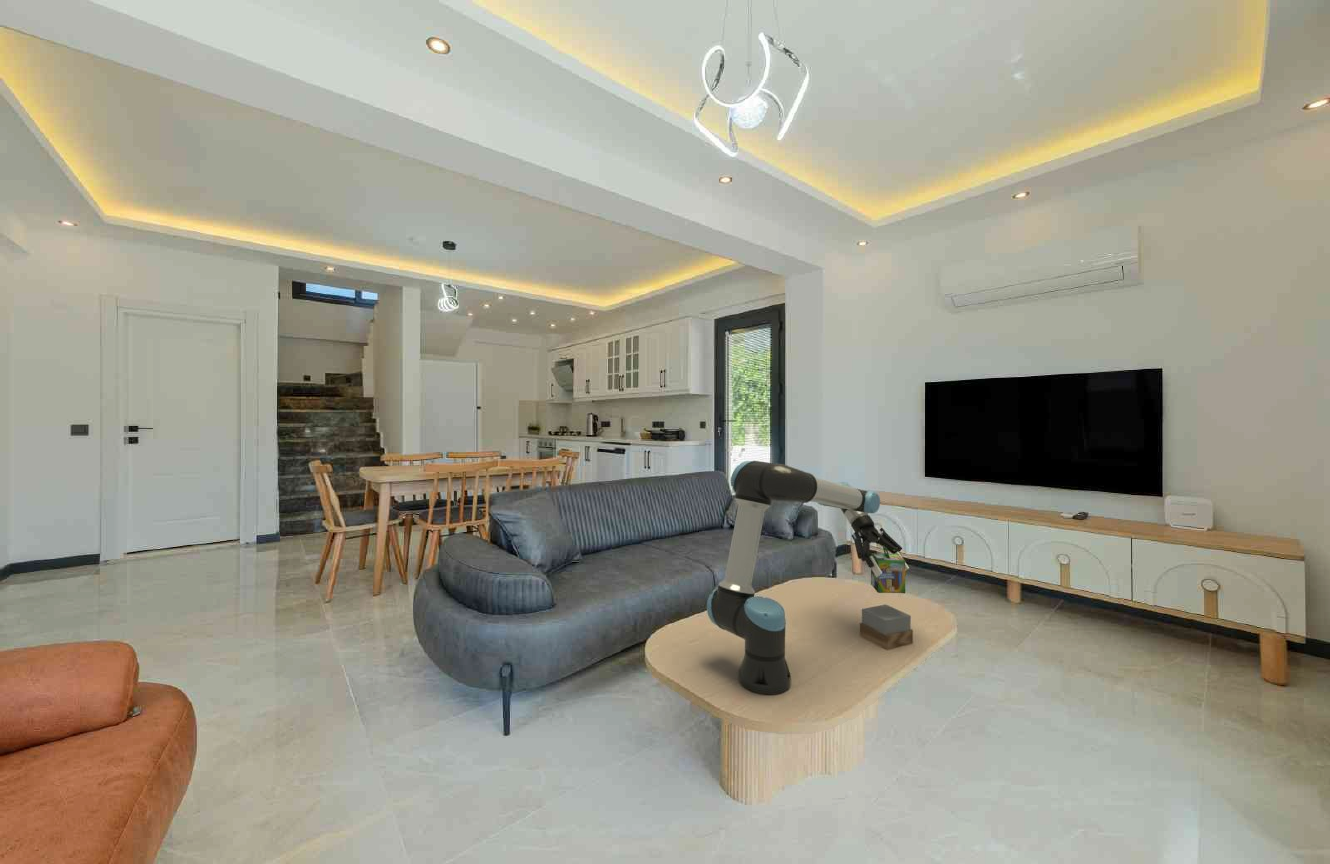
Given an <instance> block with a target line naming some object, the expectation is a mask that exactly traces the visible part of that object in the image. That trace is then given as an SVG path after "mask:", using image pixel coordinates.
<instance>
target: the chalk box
mask: <svg viewBox="0 0 1330 864" xmlns="http://www.w3.org/2000/svg"><path fill="white" fill-rule="evenodd" d="M882 550H883V552H879V553H877V552H876V553H875V552H874V553H873V552H870V553H871V554H870V556H872V557H873V558H874V560H875V561H876V563H877V565H878V566H879V568H880V570H881V571H882V574H881V575H880V576H879V577H876V576H875V574H874V572H873V571H872V569H871V568H870V585H871V587H872V588H873V589H874V590H875V592H877V593H878V594H906V571H905V562H906V560H905V558H904V557H903V558H904V559H903V558H901V557H900V556H899V555H897V554H892V553H889V551H888V550H887V548H886V547H884V546H883V547H882Z"/></svg>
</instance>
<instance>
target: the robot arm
mask: <svg viewBox="0 0 1330 864" xmlns="http://www.w3.org/2000/svg"><path fill="white" fill-rule="evenodd" d="M730 485H731V488H732V491H733V492H734V493H735V494H734V495H735V496H734V500H735V502H736V503H737V510H736V517H735V522H734V527H733V532H732V537H731V542H730V548H729V553H728V558H727V563H726V568H725V574H724V578H723V580H722V581H720V582H719V583H718V585H717V588H715V589H713V590H712V591H711V593H710V594H709V596H708V598H707V601H706V613H707V615H708V618H709V620H710V621H711V623H712V624H714V625H715V626H716V627H719V629H721V630H722V631H726V632H729V633H730V634H733V635H734V636H736V637H739V638H741V639H743V640H744V655H743V658H742V661H741V664H740V667H739V670H738V681H739V684H740V685H741V686H742V687H743V688H745V689H746V690H748V691H750V692H752V693H755V694H760V695H761V694H762V695H778V694H782V693H785V692H786V691H788V690H789V689H790V688H791V685H792V675H791V672H790V669H789V666H788V665H789V664H788V663H787V659H786V653H785V652H786V625H787V623H786V621H787V619H786V612H785V609H784V607H783V605H782V604H781V603H780V602H778V601H777V600H776V599H773V598H770V597H763V596H761V595H759V596H758V595H756V596H755V593H756V591H755V589H754V588H753V587H752V581H753V577H754V571H755V566H756V560H757V555H758V549H759V545H760V540H761V539H760V538H761V535H762V527H763V522H764V518H765V512H766V510H767V509H769V508H770V507H771V505H772V502H773V501H774V502H788V503H789V502H793V503H795V502H796V503H801V504H802V503H803V504H807V503H810V502H813V503H817V504H818V505H820V506H824V507H832V508H837V509H840V510H841V512H842V513H843V515H844V517H845V518H846V519H847V520H846V521H848V523H849V524H850V527H851V528H852V529H853V533H852V534H851V537H852V539H853V542H854V545H855V546H854V547H855V551H856V555H857V558H858V560H861V561H862V562H866V564H867V566H868V567H869V568H870V570H871V569H872V571H873V572H874V574H875V576H876V577H879V576H880V575H881V574H882V571H881V570H880V568H879V566H878V565H877V563H876V561H875V560H874V558H873V557H872V556H871V554H870V553H871V552H870V551H871V544H874V543H875V544H876V545H879V546H881V547H882V548H883V546H884V547H886V548H887V550H888V553H889V552H890V554H897V555H899V556H900V557H901V558H903V559H904V560H905V558H904V556H903V555H902V553H901V551H902V550H903V547H902V546H901V545H900V544H899V543H898V542H896V540H894V539H893V537H891V536H890V535H889V534H888V533H887V532H886V531H885V529H884V528H883V527H880V528H879V529H878V528H876V527H875V522H874V520H873V518H872V517H871V515H869V514H875V513H877V512H878V510H879V509H880V506H881V505H880V504H881V497H880V495H879V494H878V492H876V491H872V490H863V489H859V488H856V487H852V486H851V485H850V484H849V483H848V482H847V481H842V482H831V481H829V480H826V479H820V478H817V477H816V476H815V475H814V474H812V473H810V472H807V471H804V470H801V469H798V468H794V467H792V466H789V465H787V464H783V463H777V462H776V463H775V462H766V461H759V460H746V461H743V462H741V463H739V464H738V465H736V467H735V468H734V470H733V471H732V473H731V477H730ZM909 569H910V567H909V565H908V564H907V563H906V561H905V572H906V571H908V570H909Z"/></svg>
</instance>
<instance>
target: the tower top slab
mask: <svg viewBox="0 0 1330 864" xmlns="http://www.w3.org/2000/svg"><path fill="white" fill-rule="evenodd" d="M911 617H912V616H911V615H910V614H908V613H906V612H904V611H901V610H899V609H897V608H894V607H893V606H890V605H888V604H881V605H875V606H870V607H865V608H862V609H861V623H863V624H865V625H867V626H869V627H871V628H873V629H875V630H876V631H878V632H880V633H882V634H884V635H889V634H894V633H899V632H903V631H908V630H910V629H911V622H912V621H911Z"/></svg>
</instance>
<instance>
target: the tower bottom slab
mask: <svg viewBox="0 0 1330 864" xmlns="http://www.w3.org/2000/svg"><path fill="white" fill-rule="evenodd" d="M913 633H914V631H913V629H912V628H910V630H908V631H903V632H899V633H894V634H889V635H884V634H882V633H880V632H878V631H876V630H875V629H873V628H871V627H869V626H867V625H865V624H863V623H862V622H859V637H860V638H863V639H864V640H867V641H869V642H870V643H872V644H875V645H876V646H879V647H880V648H882V649H884V650H886V651H889V650H893V649H896V648H899V647H900V648H901V647H903V646H908V645H911V644H913V641H914V639H913V636H914V634H913Z"/></svg>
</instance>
